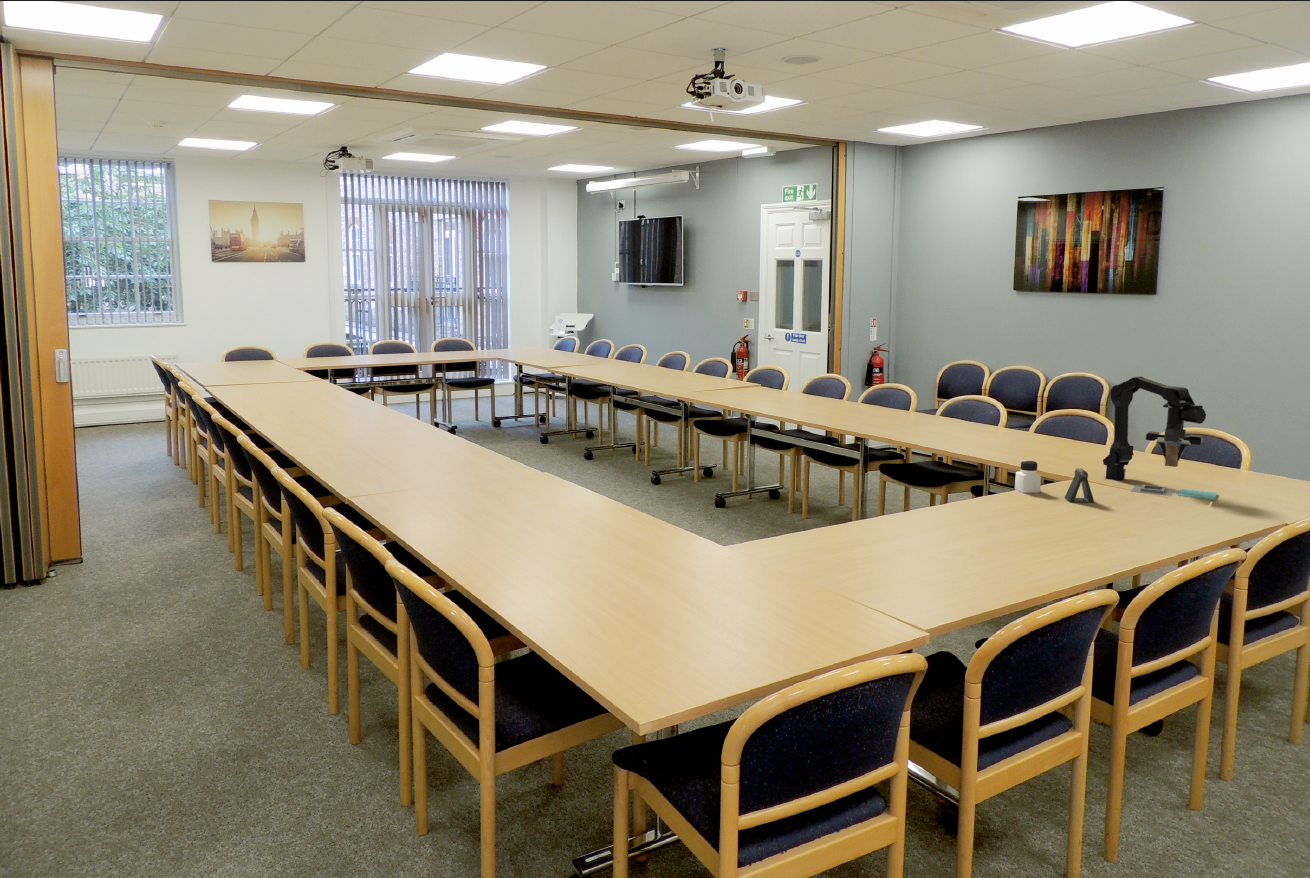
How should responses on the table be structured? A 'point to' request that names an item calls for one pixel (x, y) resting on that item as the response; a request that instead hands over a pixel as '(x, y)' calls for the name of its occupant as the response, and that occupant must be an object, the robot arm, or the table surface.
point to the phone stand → (1075, 486)
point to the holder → (1153, 490)
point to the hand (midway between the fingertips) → (1171, 459)
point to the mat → (1198, 494)
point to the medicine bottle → (1028, 478)
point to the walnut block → (1172, 455)
